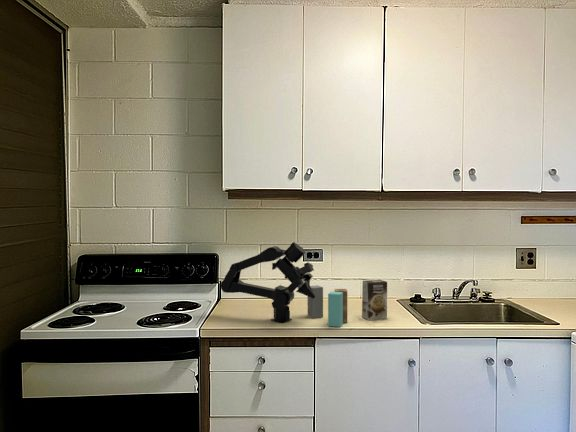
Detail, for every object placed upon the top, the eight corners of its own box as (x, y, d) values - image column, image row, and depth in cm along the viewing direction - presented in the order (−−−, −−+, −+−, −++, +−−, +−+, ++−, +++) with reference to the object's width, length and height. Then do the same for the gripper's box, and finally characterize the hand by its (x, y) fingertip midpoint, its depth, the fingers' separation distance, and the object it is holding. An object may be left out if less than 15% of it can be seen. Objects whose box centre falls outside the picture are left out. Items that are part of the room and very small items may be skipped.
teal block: (328, 325, 178) (328, 293, 178) (330, 322, 183) (330, 291, 183) (340, 326, 177) (340, 294, 177) (342, 323, 182) (342, 292, 181)
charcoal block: (312, 318, 191) (312, 288, 190) (307, 315, 195) (307, 286, 195) (323, 316, 193) (323, 287, 192) (317, 314, 197) (317, 285, 197)
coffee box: (368, 320, 187) (368, 282, 187) (361, 317, 193) (361, 280, 193) (387, 319, 190) (387, 281, 189) (380, 315, 196) (380, 279, 195)
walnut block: (335, 322, 184) (335, 291, 184) (334, 319, 189) (334, 288, 189) (347, 322, 184) (347, 291, 183) (346, 319, 189) (346, 288, 188)
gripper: (295, 259, 175) (322, 288, 172) (307, 254, 193) (333, 280, 189) (276, 278, 178) (303, 307, 174) (290, 271, 195) (315, 298, 192)
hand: (314, 297), depth 182 cm, fingers closed
